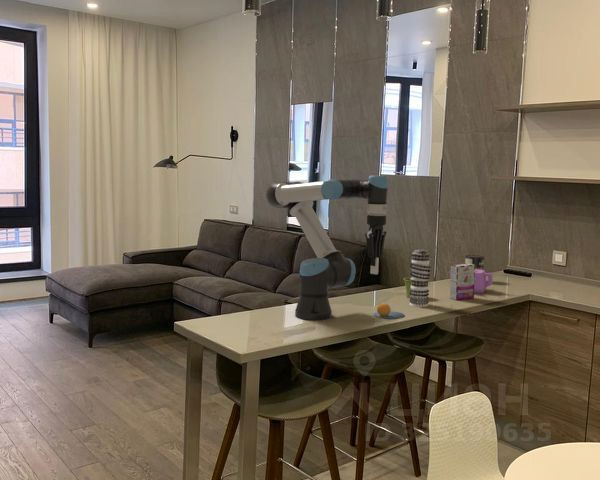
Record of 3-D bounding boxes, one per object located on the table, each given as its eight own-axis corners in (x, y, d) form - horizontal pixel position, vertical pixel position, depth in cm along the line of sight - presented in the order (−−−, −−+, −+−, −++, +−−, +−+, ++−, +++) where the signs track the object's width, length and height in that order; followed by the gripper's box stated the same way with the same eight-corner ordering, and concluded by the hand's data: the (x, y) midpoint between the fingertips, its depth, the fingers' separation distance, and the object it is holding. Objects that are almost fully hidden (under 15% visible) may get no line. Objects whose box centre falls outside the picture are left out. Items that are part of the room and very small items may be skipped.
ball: (374, 302, 253) (381, 305, 257) (374, 315, 251) (381, 318, 255) (386, 301, 250) (392, 304, 254) (386, 314, 248) (392, 317, 252)
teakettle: (494, 293, 308) (496, 268, 306) (465, 294, 302) (466, 270, 301) (475, 287, 324) (476, 264, 322) (447, 288, 318) (448, 265, 317)
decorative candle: (406, 302, 281) (407, 248, 278) (425, 302, 281) (427, 248, 279) (411, 307, 272) (413, 251, 269) (431, 306, 272) (434, 251, 270)
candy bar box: (466, 296, 297) (468, 263, 295) (474, 298, 292) (475, 264, 291) (449, 298, 292) (450, 264, 290) (456, 300, 287) (457, 266, 285)
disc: (367, 315, 254) (367, 314, 254) (384, 310, 264) (384, 309, 264) (394, 320, 246) (394, 319, 246) (410, 314, 256) (410, 314, 256)
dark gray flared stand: (485, 280, 343) (486, 255, 342) (479, 283, 335) (481, 257, 333) (467, 278, 349) (468, 254, 347) (461, 281, 340) (462, 256, 339)
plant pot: (408, 299, 288) (408, 281, 287) (399, 295, 297) (400, 277, 296) (426, 298, 291) (426, 280, 290) (417, 294, 300) (417, 277, 299)
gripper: (376, 216, 234) (374, 277, 236) (393, 214, 244) (390, 272, 247) (359, 214, 238) (357, 274, 241) (376, 213, 248) (374, 270, 251)
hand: (374, 273), depth 244 cm, fingers closed
